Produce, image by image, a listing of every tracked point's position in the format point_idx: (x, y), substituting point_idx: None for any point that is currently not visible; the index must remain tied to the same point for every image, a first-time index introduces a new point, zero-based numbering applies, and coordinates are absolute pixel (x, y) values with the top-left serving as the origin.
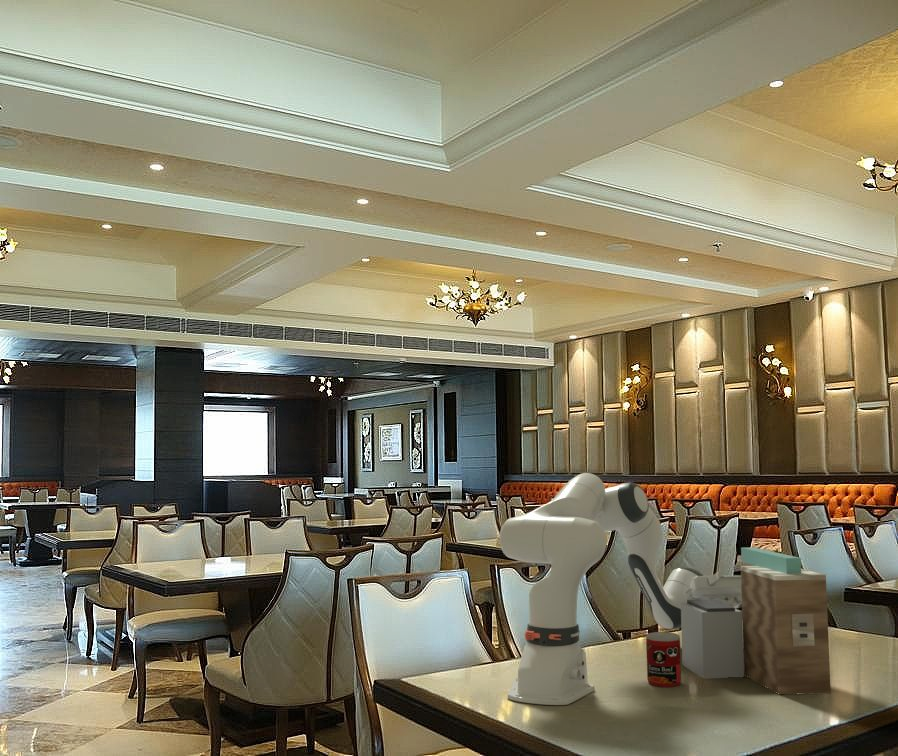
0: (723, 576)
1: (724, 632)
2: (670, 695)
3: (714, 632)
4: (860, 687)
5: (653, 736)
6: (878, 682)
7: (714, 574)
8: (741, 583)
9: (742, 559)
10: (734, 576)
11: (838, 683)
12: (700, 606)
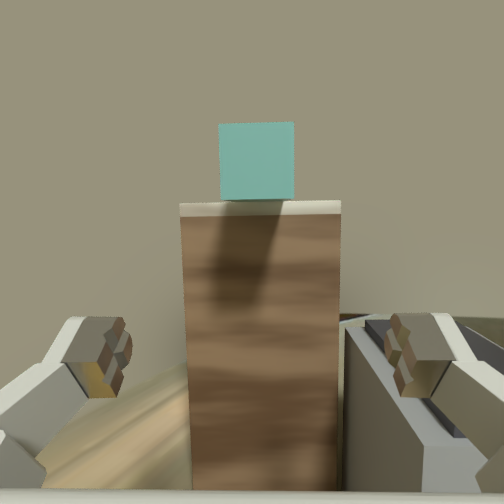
0: (387, 337)
1: None
2: None
3: None
4: (144, 411)
5: (473, 327)
6: (77, 430)
7: (485, 363)
8: (339, 255)
9: (293, 186)
10: (190, 492)
11: (157, 432)
12: (485, 342)
